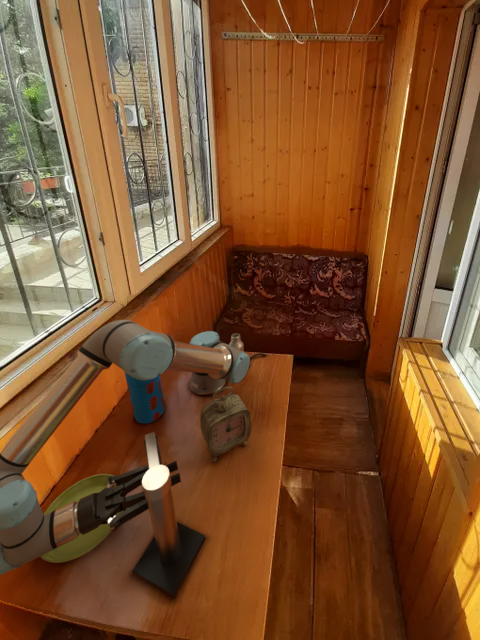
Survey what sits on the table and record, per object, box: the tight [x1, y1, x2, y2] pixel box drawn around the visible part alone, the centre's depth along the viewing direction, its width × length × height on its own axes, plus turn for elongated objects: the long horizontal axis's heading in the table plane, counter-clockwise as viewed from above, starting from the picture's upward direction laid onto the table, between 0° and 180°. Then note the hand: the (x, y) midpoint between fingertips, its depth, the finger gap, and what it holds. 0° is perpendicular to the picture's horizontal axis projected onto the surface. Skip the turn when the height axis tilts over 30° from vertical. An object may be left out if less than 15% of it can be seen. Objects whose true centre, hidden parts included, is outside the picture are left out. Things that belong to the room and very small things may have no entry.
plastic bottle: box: [228, 332, 245, 352], centre depth 134 cm, size 6×7×20 cm
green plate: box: [39, 473, 127, 564], centre depth 83 cm, size 21×21×3 cm
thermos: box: [124, 372, 165, 424], centre depth 114 cm, size 11×11×25 cm
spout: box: [141, 431, 172, 501], centre depth 76 cm, size 18×6×22 cm, turn 29°
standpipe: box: [132, 488, 206, 600], centre depth 73 cm, size 12×12×24 cm
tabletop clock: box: [199, 386, 252, 463], centre depth 101 cm, size 14×9×25 cm, turn 123°
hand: (178, 471), depth 87 cm, fingers closed on spout, 3 cm apart
